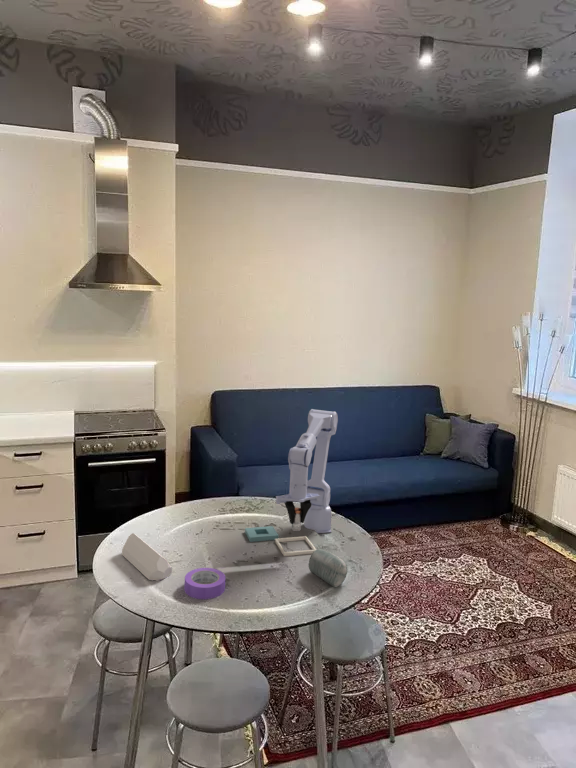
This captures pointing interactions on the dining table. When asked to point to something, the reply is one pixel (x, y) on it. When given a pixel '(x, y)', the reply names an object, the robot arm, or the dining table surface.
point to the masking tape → (204, 590)
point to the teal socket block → (261, 533)
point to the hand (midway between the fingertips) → (296, 522)
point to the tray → (295, 551)
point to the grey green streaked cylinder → (328, 567)
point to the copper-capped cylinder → (297, 519)
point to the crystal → (146, 558)
